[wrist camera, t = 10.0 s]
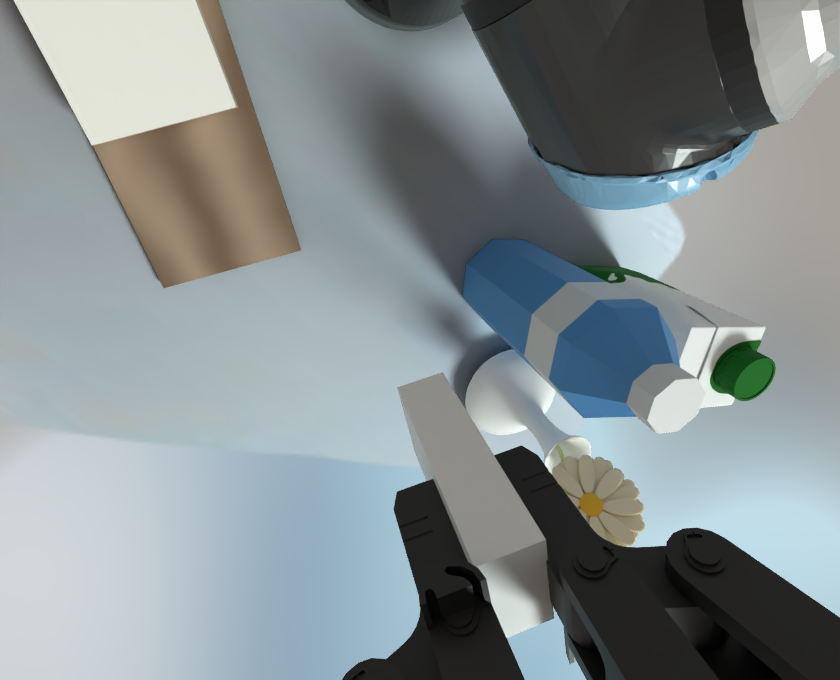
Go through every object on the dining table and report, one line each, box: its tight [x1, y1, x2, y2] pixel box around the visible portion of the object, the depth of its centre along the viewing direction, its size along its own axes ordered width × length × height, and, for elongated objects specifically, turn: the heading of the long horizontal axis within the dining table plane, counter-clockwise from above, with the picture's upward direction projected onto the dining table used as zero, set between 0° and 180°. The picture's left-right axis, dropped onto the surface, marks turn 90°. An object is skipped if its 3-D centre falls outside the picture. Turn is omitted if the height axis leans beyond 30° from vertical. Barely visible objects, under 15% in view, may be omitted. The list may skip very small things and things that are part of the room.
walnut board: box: [93, 0, 301, 288], centre depth 36 cm, size 12×25×1 cm, turn 11°
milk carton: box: [577, 266, 775, 408], centre depth 46 cm, size 9×9×20 cm
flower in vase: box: [465, 349, 645, 547], centre depth 46 cm, size 13×11×25 cm
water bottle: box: [462, 239, 705, 434], centre depth 40 cm, size 9×9×25 cm
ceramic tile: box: [14, 0, 238, 145], centre depth 31 cm, size 3×10×13 cm
